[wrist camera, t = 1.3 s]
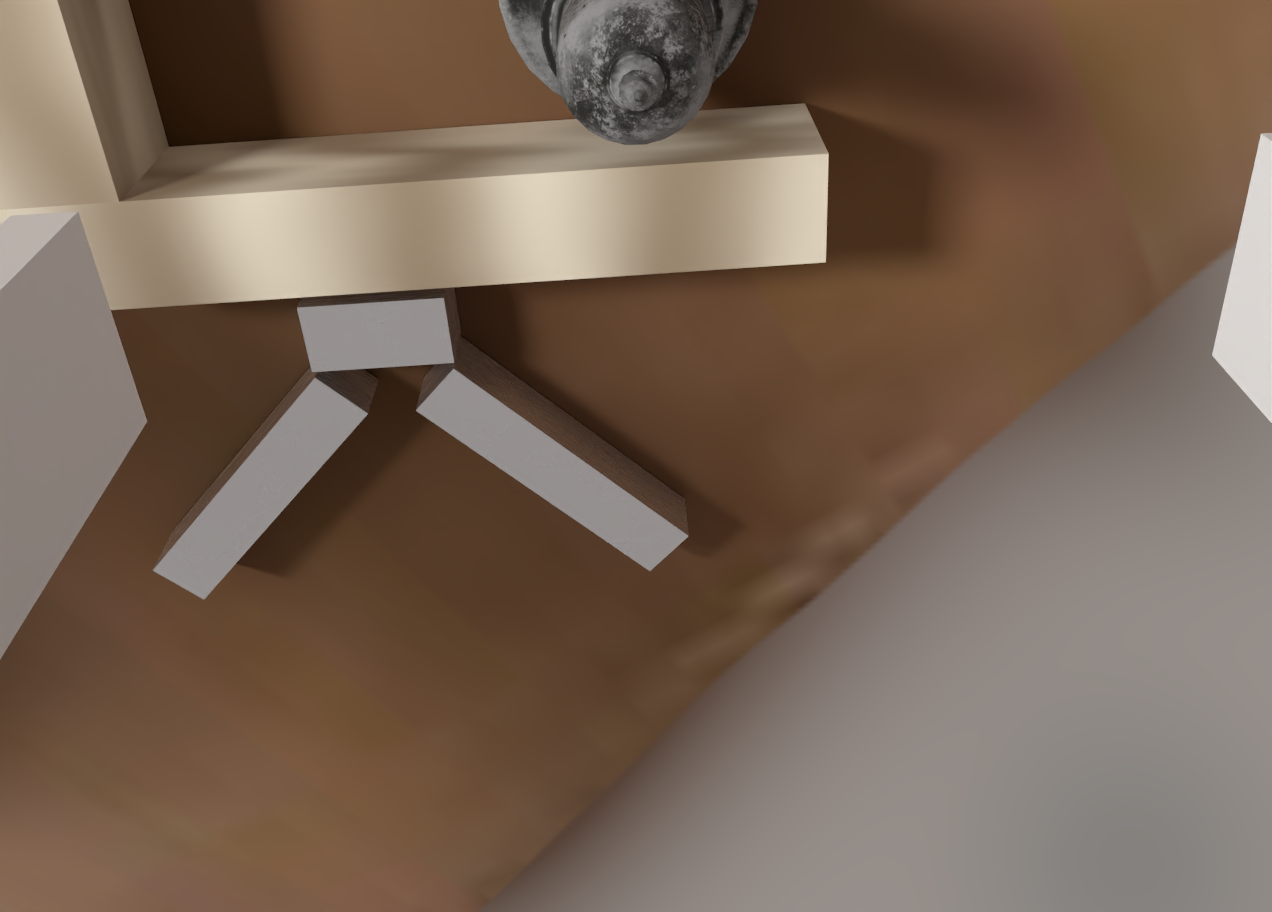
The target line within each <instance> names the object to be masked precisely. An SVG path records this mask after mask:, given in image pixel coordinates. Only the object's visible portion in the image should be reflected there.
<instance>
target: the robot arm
mask: <svg viewBox="0 0 1272 912" xmlns="http://www.w3.org/2000/svg"><path fill="white" fill-rule="evenodd" d="M1212 356H1213V357H1214V358H1215V359H1216V360H1217V361H1218V363H1219V364H1220V365H1221V366H1222V367H1223V368H1224V369H1225V371H1226V372H1227V373H1228V374H1229V375H1230V376H1231V378H1232V379H1233V380H1234V381H1235V382H1236V383H1237V384H1238V386H1239V387H1240V388H1241V389H1242V390H1243V391H1244V392H1245V393H1246V395H1247V396H1248V397H1249V398H1250V399H1251V400H1252V401H1253V403H1254V404H1255V405H1256V406H1257V407H1258V408H1259V409H1260V411H1261V412H1262V413H1263V414H1264V415H1265V416H1266V417H1267V419H1268V420H1269V421H1270V422H1271V423H1272V133H1264V134H1261V137H1260V141H1259V146H1258V150H1257V155H1256V159H1255V164H1254V168H1253V173H1252V177H1251V182H1250V186H1249V191H1248V195H1247V200H1246V204H1245V209H1244V214H1243V218H1242V223H1241V227H1240V232H1239V236H1238V241H1237V245H1236V250H1235V254H1234V259H1233V263H1232V268H1231V273H1230V277H1229V281H1228V286H1227V290H1226V295H1225V300H1224V304H1223V309H1222V313H1221V317H1220V322H1219V327H1218V331H1217V336H1216V340H1215V344H1214V350H1213V353H1212ZM146 423H147V420H146V416H145V413H144V410H143V407H142V404H141V401H140V398H139V395H138V392H137V389H136V386H135V383H134V380H133V377H132V374H131V371H130V368H129V365H128V362H127V359H126V356H125V352H124V349H123V346H122V343H121V340H120V337H119V334H118V331H117V328H116V325H115V322H114V319H113V316H112V313H111V310H110V307H109V304H108V301H107V298H106V295H105V291H104V288H103V285H102V282H101V279H100V276H99V273H98V270H97V267H96V264H95V261H94V258H93V255H92V252H91V249H90V246H89V243H88V240H87V237H86V234H85V231H84V227H83V224H82V221H81V218H80V215H79V212H78V211H75V212H60V213H45V214H30V215H14V216H10V217H9V218H7V219H6V220H5V221H4V222H3V223H2V224H1V225H0V659H1V657H2V656H3V654H4V653H5V651H6V649H7V648H8V646H9V644H10V643H11V641H12V640H13V638H14V636H15V635H16V633H17V632H18V630H19V628H20V627H21V625H22V623H23V622H24V620H25V619H26V617H27V615H28V614H29V612H30V611H31V609H32V607H33V606H34V604H35V602H36V601H37V599H38V598H39V596H40V594H41V593H42V591H43V589H44V588H45V586H46V585H47V583H48V581H49V580H50V578H51V577H52V575H53V573H54V572H55V570H56V568H57V567H58V565H59V564H60V562H61V560H62V559H63V557H64V555H65V554H66V552H67V551H68V549H69V547H70V546H71V544H72V543H73V541H74V539H75V538H76V536H77V534H78V533H79V531H80V530H81V528H82V526H83V525H84V523H85V522H86V520H87V518H88V517H89V515H90V513H91V512H92V510H93V509H94V507H95V505H96V504H97V502H98V500H99V499H100V497H101V496H102V494H103V492H104V491H105V489H106V488H107V486H108V484H109V483H110V481H111V479H112V478H113V476H114V475H115V473H116V471H117V470H118V468H119V466H120V465H121V463H122V462H123V460H124V458H125V457H126V455H127V454H128V452H129V450H130V449H131V447H132V445H133V444H134V442H135V441H136V439H137V437H138V436H139V434H140V432H141V431H142V429H143V428H144V426H145V424H146Z"/></svg>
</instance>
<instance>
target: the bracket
mask: <svg viewBox="0 0 1272 912" xmlns="http://www.w3.org/2000/svg"><path fill="white" fill-rule="evenodd" d="M828 160H829V153H828V151H827V149H826V147H825V145H824V143H823V141H822V138H821V136H820V134H819V132H818V130H817V128H816V126H815V124H814V122H813V119H812V117H811V115H810V113H809V111H808V109H807V107H806V105H805V103H802V104H788V105H773V106H759V107H744V108H729V109H715V110H700V111H698V113H697V115H696V116H695V117H694V118H693V119H692V120H691V121H690V122H689V123H688V124H687V125H686V126H685V127H684V128H683V129H681V130H680V131H678V132H676V133H674V134H673V135H671V136H669V137H667V138H666V139H663V140H660V141H656V142H653V143H649V144H644V145H624V144H620V143H616V142H611V141H607V140H605V139H603V138H601V137H599V136H598V135H596V134H594V133H592V132H590V131H589V130H588V129H587V128H586V127H585V126H583V125H582V124H581V123H580V122H579V121H578V120H577V119H569V120H554V121H540V122H525V123H510V124H496V125H481V126H467V127H452V128H437V129H423V130H408V131H394V132H379V133H364V134H350V135H335V136H321V137H306V138H291V139H277V140H262V141H248V142H233V143H218V144H204V145H189V146H175V147H169V145H168V142H167V138H166V135H165V131H164V127H163V124H162V120H161V116H160V113H159V109H158V106H157V102H156V98H155V95H154V91H153V88H152V84H151V80H150V77H149V73H148V70H147V66H146V62H145V59H144V55H143V51H142V48H141V44H140V41H139V37H138V33H137V30H136V26H135V23H134V19H133V15H132V12H131V8H130V5H129V1H128V0H0V225H1V224H2V223H3V222H4V221H5V220H6V219H7V218H9V217H10V216H14V215H30V214H45V213H60V212H75V211H78V212H79V215H80V218H81V221H82V224H83V227H84V231H85V234H86V237H87V240H88V243H89V246H90V249H91V252H92V255H93V258H94V261H95V264H96V267H97V270H98V273H99V276H100V279H101V282H102V285H103V288H104V291H105V295H106V298H107V301H108V304H109V307H110V310H122V309H137V308H152V307H167V306H181V305H196V304H211V303H226V302H241V301H256V300H271V299H286V298H301V297H316V296H331V295H346V294H361V293H376V292H391V291H406V290H421V289H436V288H451V287H466V286H481V285H496V284H511V283H526V282H541V281H556V280H571V279H586V278H601V277H616V276H631V275H646V274H660V273H675V272H690V271H705V270H720V269H735V268H750V267H765V266H780V265H795V264H810V263H825V262H826V239H827V200H828Z"/></svg>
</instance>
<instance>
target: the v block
mask: <svg viewBox="0 0 1272 912" xmlns="http://www.w3.org/2000/svg"><path fill="white" fill-rule="evenodd" d="M297 311H298V315H299V320H300V324H301V328H302V332H303V336H304V341H305V345H306V349H307V353H308V358H309V362H310V367H309V368H308V370H307V371H306V372H305V373H304V374H303V376H302V377H301V378H300V379H299V380H298V381H297V383H296V384H295V385H294V386H293V387H292V389H291V390H290V391H289V392H288V393H287V395H286V396H285V397H284V398H283V399H282V401H281V402H280V403H279V404H278V405H277V407H276V408H275V409H274V410H273V411H272V413H271V414H270V415H269V416H268V417H267V419H266V420H265V421H264V422H263V423H262V425H261V426H260V427H259V428H258V429H257V431H256V432H255V433H254V434H253V435H252V437H251V438H250V439H249V440H248V441H247V443H246V444H245V445H244V446H243V447H242V449H241V450H240V451H239V452H238V453H237V455H236V456H235V457H234V458H233V459H232V461H231V462H230V463H229V464H228V465H227V467H226V468H225V469H224V470H223V471H222V473H221V474H220V475H219V476H218V477H217V479H216V480H215V481H214V482H213V483H212V484H211V486H210V487H209V488H208V489H207V490H206V492H205V493H204V494H203V495H202V496H201V498H200V499H199V500H198V501H197V502H196V504H195V505H194V506H193V507H192V508H191V510H190V511H189V512H188V513H187V514H186V516H185V517H184V518H183V519H182V520H181V522H180V523H179V524H178V525H177V526H176V528H175V529H174V530H173V531H172V533H171V535H170V537H169V539H168V541H167V543H166V545H165V547H164V549H163V551H162V553H161V555H160V557H159V559H158V561H157V563H156V565H155V567H154V569H153V571H154V572H156V573H158V574H160V575H161V576H163V577H165V578H167V579H168V580H170V581H172V582H174V583H175V584H177V585H179V586H181V587H183V588H184V589H186V590H188V591H190V592H191V593H193V594H195V595H197V596H198V597H200V598H202V599H205V598H206V597H207V596H208V594H209V593H210V592H211V591H212V590H213V589H214V588H215V587H216V585H217V584H218V583H219V582H220V581H221V580H222V579H223V578H224V576H225V575H226V574H227V573H228V572H229V571H230V570H231V568H232V567H233V566H234V565H235V564H236V563H237V562H238V561H239V559H240V558H241V557H242V556H243V555H244V554H245V553H246V551H247V550H248V549H249V548H250V547H251V546H252V545H253V544H254V542H255V541H256V540H257V539H258V538H259V537H260V536H261V534H262V533H263V532H264V531H265V530H266V529H267V528H268V527H269V525H270V524H271V523H272V522H273V521H274V520H275V519H276V518H277V516H278V515H279V514H280V513H281V512H282V511H283V510H284V508H285V507H286V506H287V505H288V504H289V503H290V502H291V501H292V499H293V498H294V497H295V496H296V495H297V494H298V493H299V491H300V490H301V489H302V488H303V487H304V486H305V485H306V484H307V482H308V481H309V480H310V479H311V478H312V477H313V476H314V474H315V473H316V472H317V471H318V470H319V469H320V468H321V467H322V465H323V464H324V463H325V462H326V461H327V460H328V459H329V458H330V456H331V455H332V454H333V453H334V452H335V451H336V450H337V448H338V447H339V446H340V445H341V444H342V443H343V442H344V441H345V439H346V438H347V437H348V436H349V435H350V434H351V433H352V431H353V430H354V429H355V428H356V427H357V426H358V425H359V424H360V422H361V421H362V420H363V419H364V418H365V417H366V416H367V414H368V413H369V410H370V406H371V403H372V400H373V397H374V394H375V390H376V387H377V384H378V381H379V379H378V378H376V377H375V376H373V375H372V374H370V373H369V372H367V371H366V370H364V369H369V368H384V367H399V366H414V365H430V364H435V365H434V366H433V367H432V368H431V369H430V370H429V372H428V373H427V374H426V375H425V376H424V379H423V383H422V387H421V391H420V395H419V399H418V403H417V407H416V411H417V412H418V413H420V414H421V415H423V416H424V417H426V418H427V419H429V420H430V421H432V422H433V423H434V424H436V425H437V426H439V427H440V428H442V429H443V430H445V431H446V432H448V433H449V434H450V435H452V436H453V437H455V438H456V439H458V440H459V441H461V442H462V443H464V444H465V445H467V446H468V447H469V448H471V449H472V450H474V451H475V452H477V453H478V454H480V455H481V456H483V457H484V458H485V459H487V460H488V461H490V462H491V463H493V464H494V465H496V466H497V467H499V468H500V469H502V470H503V471H504V472H506V473H507V474H509V475H510V476H512V477H513V478H515V479H516V480H518V481H519V482H520V483H522V484H523V485H525V486H526V487H528V488H529V489H531V490H532V491H534V492H535V493H536V494H538V495H539V496H541V497H542V498H544V499H545V500H547V501H548V502H550V503H551V504H553V505H554V506H555V507H557V508H558V509H560V510H561V511H563V512H564V513H566V514H567V515H569V516H570V517H571V518H573V519H574V520H576V521H577V522H579V523H580V524H582V525H583V526H585V527H586V528H588V529H589V530H590V531H592V532H593V533H595V534H596V535H598V536H599V537H601V538H602V539H604V540H605V541H606V542H608V543H609V544H611V545H612V546H614V547H615V548H617V549H618V550H620V551H621V552H623V553H624V554H625V555H627V556H628V557H630V558H631V559H633V560H634V561H636V562H637V563H639V564H640V565H641V566H643V567H644V568H646V569H647V570H649V571H651V570H652V569H653V568H654V567H655V566H656V565H657V564H659V563H660V562H661V561H662V560H663V559H664V558H665V557H666V556H667V555H668V554H670V553H671V552H672V551H673V550H674V549H675V548H676V547H677V546H678V545H680V544H681V543H682V542H683V541H684V540H685V539H686V538H687V537H688V536H689V533H688V523H687V513H686V503H685V499H684V498H683V497H682V496H680V495H679V494H677V493H676V492H675V491H673V490H672V489H671V488H669V487H668V486H666V485H665V484H664V483H662V482H661V481H660V480H658V479H657V478H655V477H654V476H653V475H651V474H650V473H649V472H647V471H646V470H644V469H643V468H642V467H640V466H639V465H638V464H636V463H635V462H633V461H632V460H631V459H629V458H628V457H627V456H625V455H624V454H622V453H621V452H620V451H618V450H617V449H616V448H614V447H613V446H611V445H610V444H609V443H607V442H606V441H605V440H603V439H602V438H600V437H599V436H598V435H596V434H595V433H594V432H592V431H591V430H589V429H588V428H587V427H585V426H584V425H582V424H581V423H580V422H578V421H577V420H576V419H574V418H573V417H571V416H570V415H569V414H567V413H566V412H565V411H563V410H562V409H560V408H559V407H558V406H556V405H555V404H554V403H552V402H551V401H549V400H548V399H547V398H545V397H544V396H543V395H541V394H540V393H538V392H537V391H536V390H534V389H533V388H532V387H530V386H529V385H527V384H526V383H525V382H523V381H522V380H521V379H519V378H518V377H516V376H515V375H514V374H512V373H511V372H510V371H508V370H507V369H505V368H504V367H503V366H501V365H500V364H499V363H497V362H496V361H494V360H493V359H492V358H490V357H489V356H488V355H486V354H485V353H483V352H482V351H481V350H479V349H478V348H476V347H475V346H474V345H472V344H471V343H470V342H468V341H467V340H465V339H464V338H463V337H461V336H460V333H461V326H460V320H459V313H458V307H457V300H456V294H455V288H454V287H451V288H436V289H421V290H406V291H391V292H376V293H361V294H346V295H331V296H316V297H302V298H301V300H300V302H299V304H298V306H297Z"/></svg>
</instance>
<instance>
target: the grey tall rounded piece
mask: <svg viewBox="0 0 1272 912" xmlns="http://www.w3.org/2000/svg"><path fill="white" fill-rule="evenodd" d="M757 3H758V0H499V7H500V10H501V13H502V16H503V19H504V22H505V25H506V28H507V31H508V34H509V37H510V40H511V41H512V43H513V45H514V46H515V48H516V49H517V51H518V53H519V54H520V56H521V57H522V59H523V61H524V62H525V64H526V65H527V67H528V68H529V69H530V70H531V71H532V72H533V73H534V74H535V75H536V76H537V77H538V78H539V79H540V80H541V81H542V82H543V83H544V84H545V85H546V86H548V87H549V88H550V89H551V90H552V91H553V92H554V93H556V94H558V95H560V96H562V98H563V100H564V102H565V103H566V105H567V106H568V108H569V109H570V111H571V113H572V114H573V116H574V117H575V118H576V119H577V120H578V121H579V122H580V123H581V124H582V125H583V126H585V127H586V128H587V129H588V130H589V131H590V132H592V133H594V134H596V135H598V136H599V137H601V138H603V139H605V140H607V141H611V142H616V143H620V144H624V145H644V144H649V143H653V142H656V141H660V140H663V139H666V138H667V137H669V136H671V135H673V134H674V133H676V132H678V131H680V130H681V129H683V128H684V127H685V126H686V125H687V124H688V123H689V122H690V121H691V120H692V119H693V118H694V117H695V116H696V115H697V113H698V111H699V110H700V108H701V107H702V105H703V103H704V102H705V100H706V98H707V97H708V95H709V92H710V89H711V85H712V83H713V82H714V81H715V80H716V79H717V78H718V77H719V76H720V75H721V74H722V73H723V72H724V71H725V70H726V69H727V68H728V67H729V66H730V65H731V63H732V61H733V60H734V58H735V56H736V55H737V53H738V51H739V50H740V48H741V46H742V45H743V43H744V41H745V40H746V38H747V36H748V33H749V30H750V27H751V23H752V20H753V17H754V13H755V10H756V7H757Z"/></svg>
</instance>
